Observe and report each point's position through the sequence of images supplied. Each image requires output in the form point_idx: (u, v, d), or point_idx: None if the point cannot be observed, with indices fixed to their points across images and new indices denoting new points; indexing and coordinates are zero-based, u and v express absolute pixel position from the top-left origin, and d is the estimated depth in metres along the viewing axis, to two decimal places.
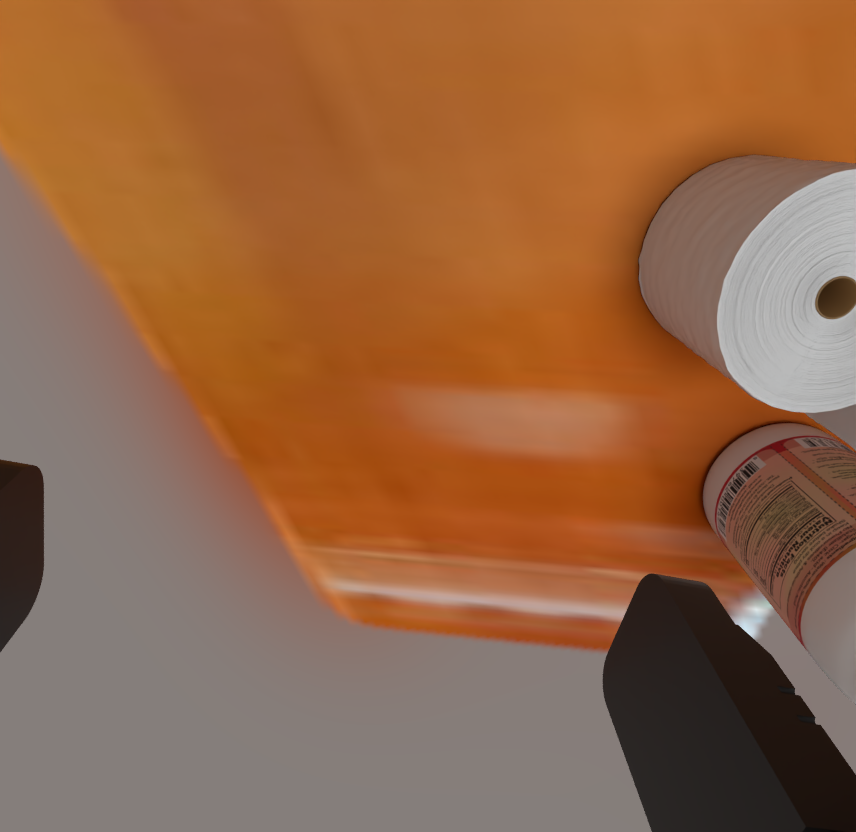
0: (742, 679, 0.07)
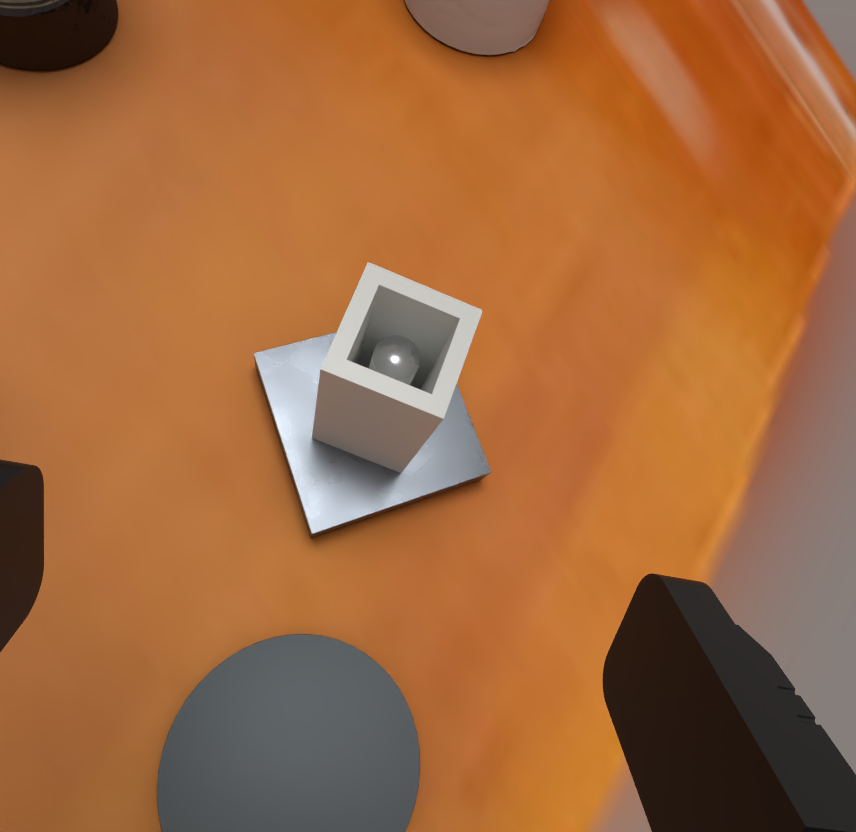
0: (742, 679, 0.07)
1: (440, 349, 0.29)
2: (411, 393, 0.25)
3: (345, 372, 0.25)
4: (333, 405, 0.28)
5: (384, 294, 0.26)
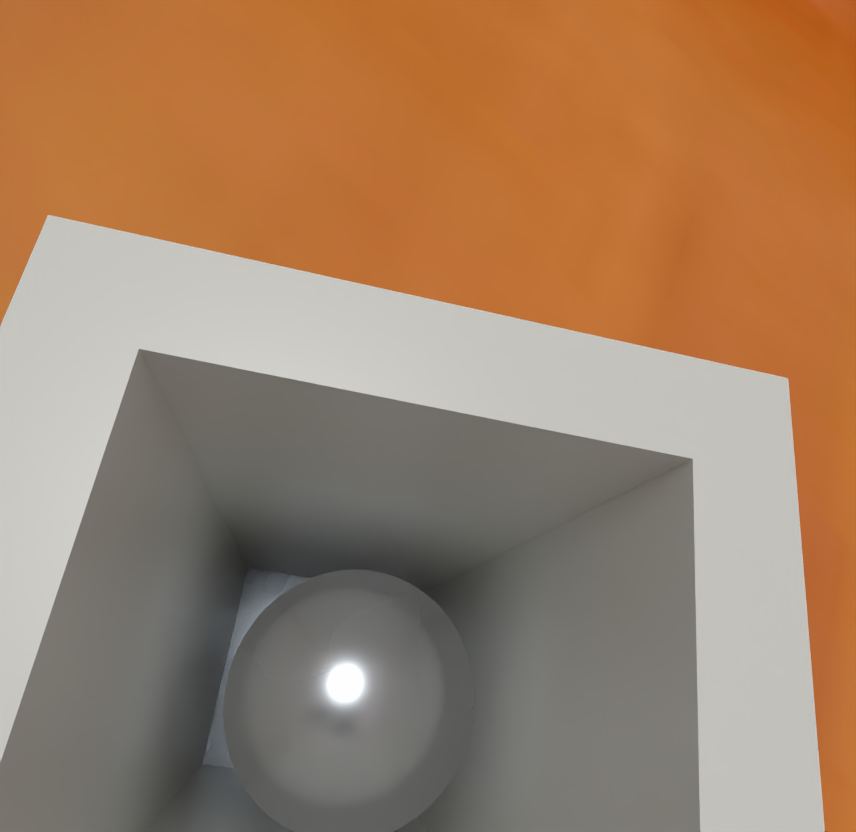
0: None
1: (519, 541, 0.07)
2: None
3: None
4: None
5: (204, 395, 0.04)
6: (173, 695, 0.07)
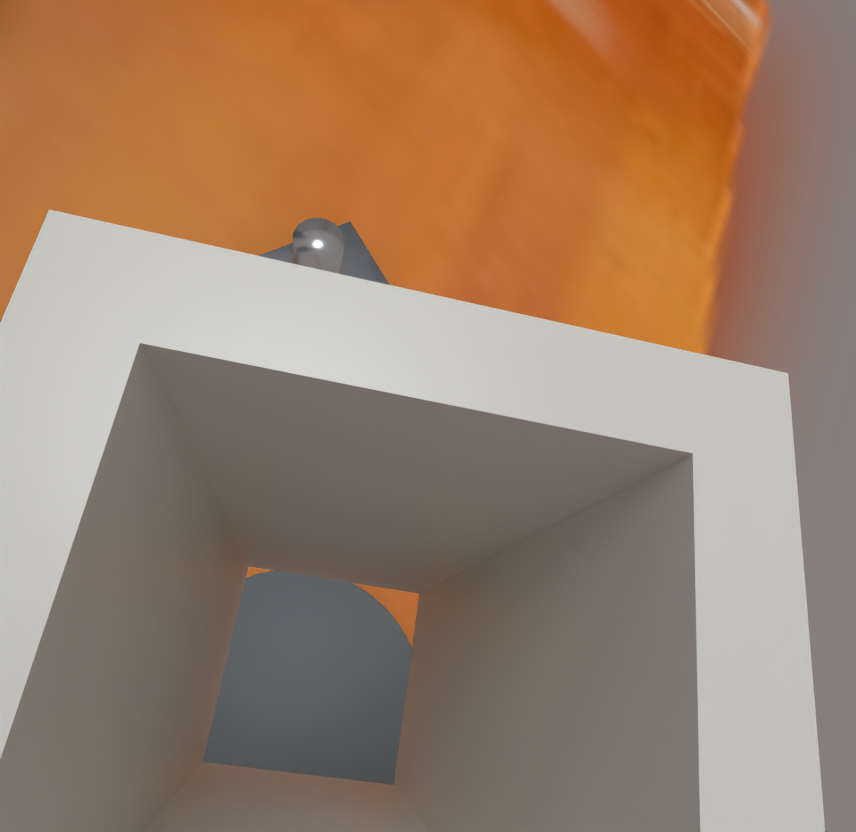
0: None
1: (519, 537, 0.07)
2: None
3: None
4: None
5: (204, 389, 0.04)
6: (174, 691, 0.07)
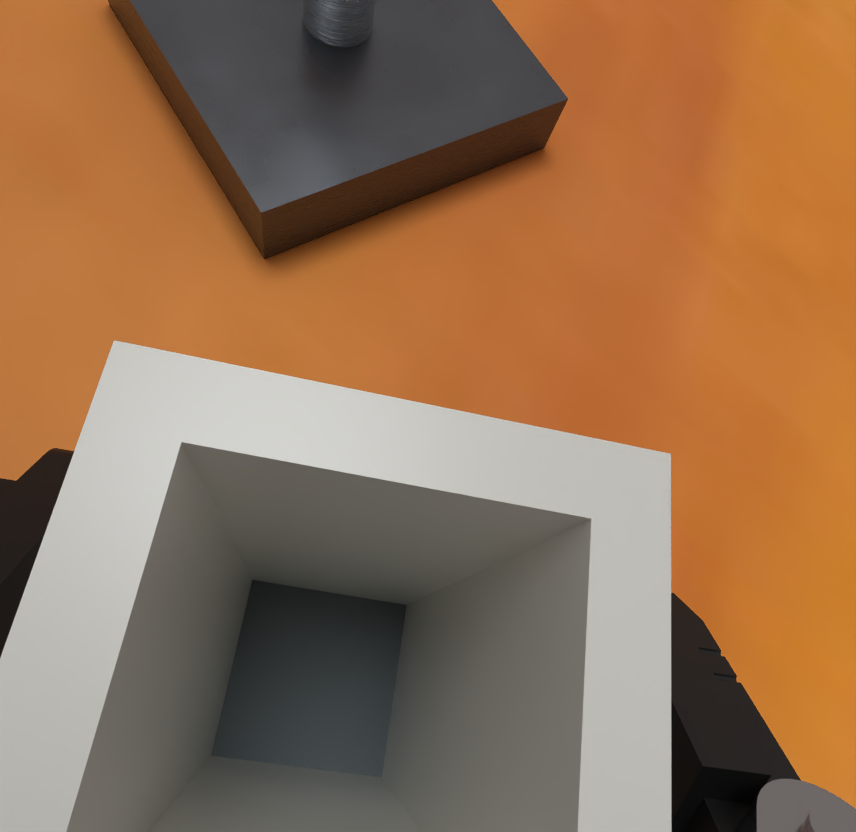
0: None
1: (481, 566, 0.09)
2: None
3: None
4: None
5: (226, 467, 0.06)
6: (192, 694, 0.09)
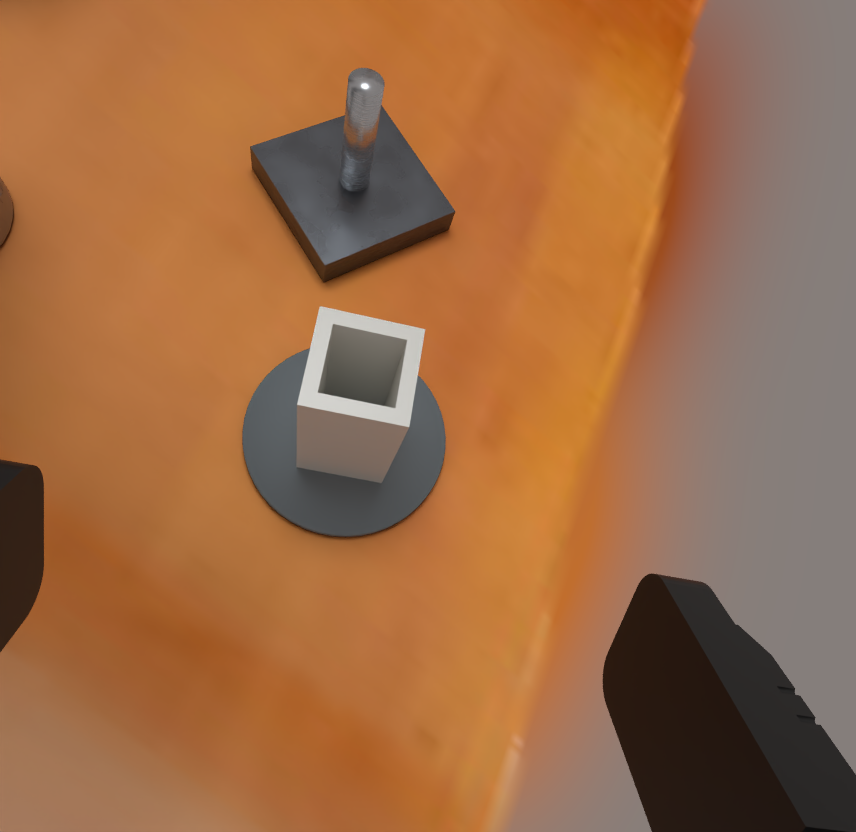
0: (742, 679, 0.07)
1: (395, 368, 0.33)
2: (378, 410, 0.29)
3: (318, 403, 0.29)
4: (312, 434, 0.32)
5: (338, 330, 0.31)
6: None
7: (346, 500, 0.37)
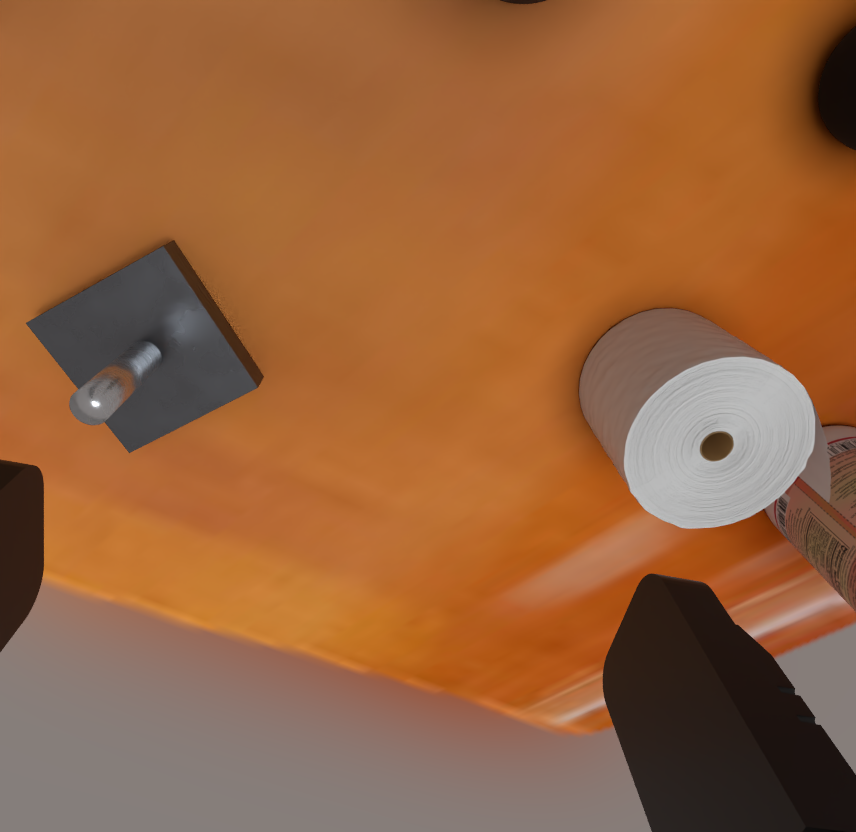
0: (742, 679, 0.07)
1: None
2: None
3: None
4: None
5: None
6: None
7: None
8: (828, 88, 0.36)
